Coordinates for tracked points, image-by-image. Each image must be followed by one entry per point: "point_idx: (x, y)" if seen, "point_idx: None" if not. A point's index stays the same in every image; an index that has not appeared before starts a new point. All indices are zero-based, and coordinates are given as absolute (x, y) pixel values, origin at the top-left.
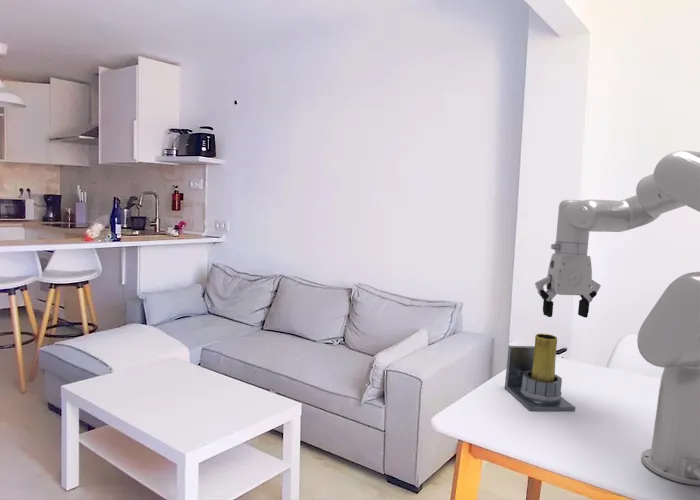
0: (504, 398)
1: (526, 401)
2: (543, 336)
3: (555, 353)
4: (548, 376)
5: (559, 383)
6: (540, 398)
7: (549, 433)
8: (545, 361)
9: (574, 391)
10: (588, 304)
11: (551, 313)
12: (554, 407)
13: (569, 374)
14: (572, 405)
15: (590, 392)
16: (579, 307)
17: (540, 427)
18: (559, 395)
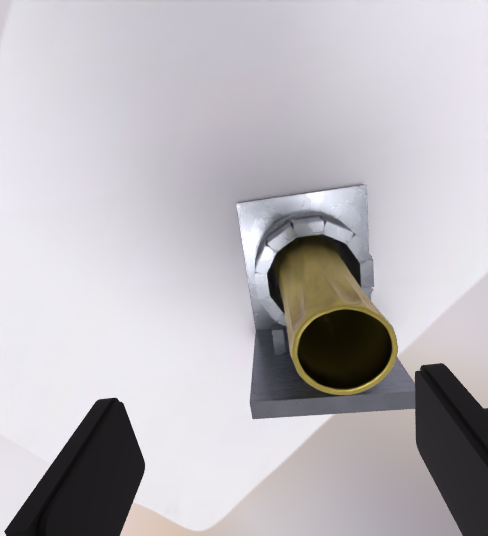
0: (398, 260)
1: (359, 224)
2: (334, 382)
3: (292, 297)
4: (311, 250)
5: (275, 236)
6: (329, 215)
7: (370, 36)
8: (336, 266)
9: (190, 326)
10: (27, 501)
11: (443, 382)
12: (294, 195)
13: (163, 425)
14: (238, 214)
15: (151, 325)
16: (118, 519)
17: (378, 75)
18: (271, 229)
